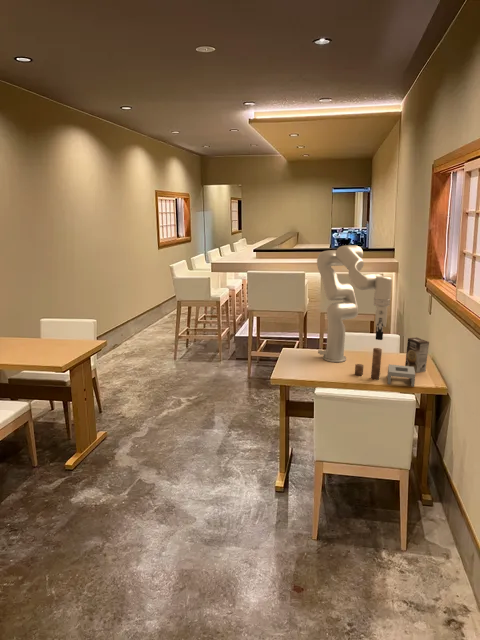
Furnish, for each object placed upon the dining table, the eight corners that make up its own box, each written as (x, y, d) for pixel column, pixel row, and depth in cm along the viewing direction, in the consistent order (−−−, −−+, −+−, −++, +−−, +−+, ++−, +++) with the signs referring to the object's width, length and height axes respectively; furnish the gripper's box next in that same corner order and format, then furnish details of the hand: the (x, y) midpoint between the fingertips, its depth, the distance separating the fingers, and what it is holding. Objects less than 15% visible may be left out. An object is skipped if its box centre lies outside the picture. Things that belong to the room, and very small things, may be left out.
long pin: (370, 379, 247) (373, 349, 243) (370, 376, 251) (373, 347, 247) (379, 380, 246) (381, 350, 242) (379, 377, 250) (381, 348, 246)
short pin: (354, 375, 252) (355, 366, 250) (354, 373, 255) (355, 363, 254) (362, 376, 251) (363, 366, 249) (362, 373, 254) (363, 364, 253)
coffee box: (404, 367, 266) (407, 337, 262) (413, 366, 268) (416, 336, 264) (416, 372, 257) (419, 342, 254) (426, 371, 260) (429, 341, 256)
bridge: (387, 383, 241) (388, 371, 240) (387, 375, 252) (388, 364, 251) (414, 386, 238) (415, 374, 237) (412, 378, 249) (413, 366, 248)
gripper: (390, 306, 230) (387, 342, 234) (389, 299, 246) (387, 333, 250) (373, 305, 232) (370, 341, 236) (373, 298, 248) (371, 332, 252)
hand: (379, 337), depth 243 cm, fingers open, 9 cm apart
